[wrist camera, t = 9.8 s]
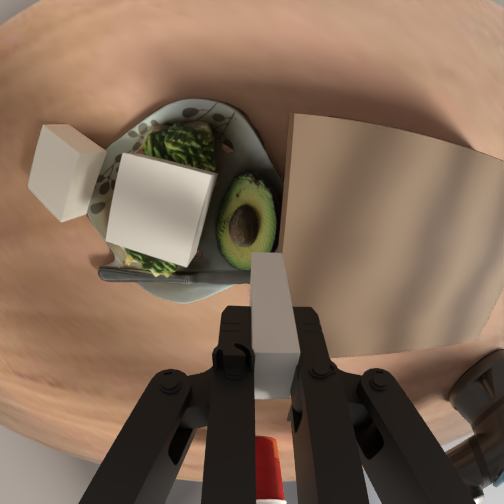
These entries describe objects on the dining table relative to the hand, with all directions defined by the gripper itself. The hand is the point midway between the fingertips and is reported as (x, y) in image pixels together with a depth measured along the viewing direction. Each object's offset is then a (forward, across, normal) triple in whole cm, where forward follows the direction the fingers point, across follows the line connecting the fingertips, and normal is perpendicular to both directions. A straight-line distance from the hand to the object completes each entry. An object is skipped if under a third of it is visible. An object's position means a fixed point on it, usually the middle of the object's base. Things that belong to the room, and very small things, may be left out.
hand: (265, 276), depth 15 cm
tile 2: (+10, +16, -4) cm, 19 cm away
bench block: (+10, -11, 0) cm, 15 cm away
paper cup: (+11, -3, +43) cm, 44 cm away
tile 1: (+4, +7, -2) cm, 8 cm away
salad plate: (+11, +6, 0) cm, 12 cm away
